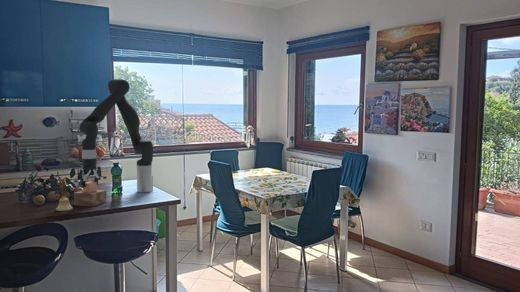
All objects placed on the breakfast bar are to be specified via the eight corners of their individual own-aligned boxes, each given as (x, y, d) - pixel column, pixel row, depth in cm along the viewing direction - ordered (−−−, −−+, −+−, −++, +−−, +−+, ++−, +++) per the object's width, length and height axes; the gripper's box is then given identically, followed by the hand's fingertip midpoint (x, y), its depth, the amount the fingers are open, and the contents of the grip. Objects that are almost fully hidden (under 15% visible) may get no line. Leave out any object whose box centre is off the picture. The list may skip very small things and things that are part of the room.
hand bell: (54, 211, 216) (53, 181, 214) (57, 207, 224) (56, 178, 222) (71, 210, 218) (70, 180, 216) (74, 206, 226) (73, 177, 224)
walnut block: (89, 200, 242) (88, 188, 241) (106, 202, 238) (106, 190, 238) (74, 205, 231) (73, 192, 230) (91, 207, 227) (91, 194, 226)
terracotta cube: (90, 190, 237) (90, 181, 237) (96, 191, 235) (96, 182, 235) (83, 191, 233) (83, 182, 232) (89, 192, 231) (89, 183, 230)
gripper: (94, 155, 240) (95, 183, 242) (73, 158, 228) (74, 187, 229) (104, 156, 237) (104, 184, 238) (83, 159, 224) (83, 188, 226)
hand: (89, 186), depth 234 cm, fingers open, 8 cm apart
